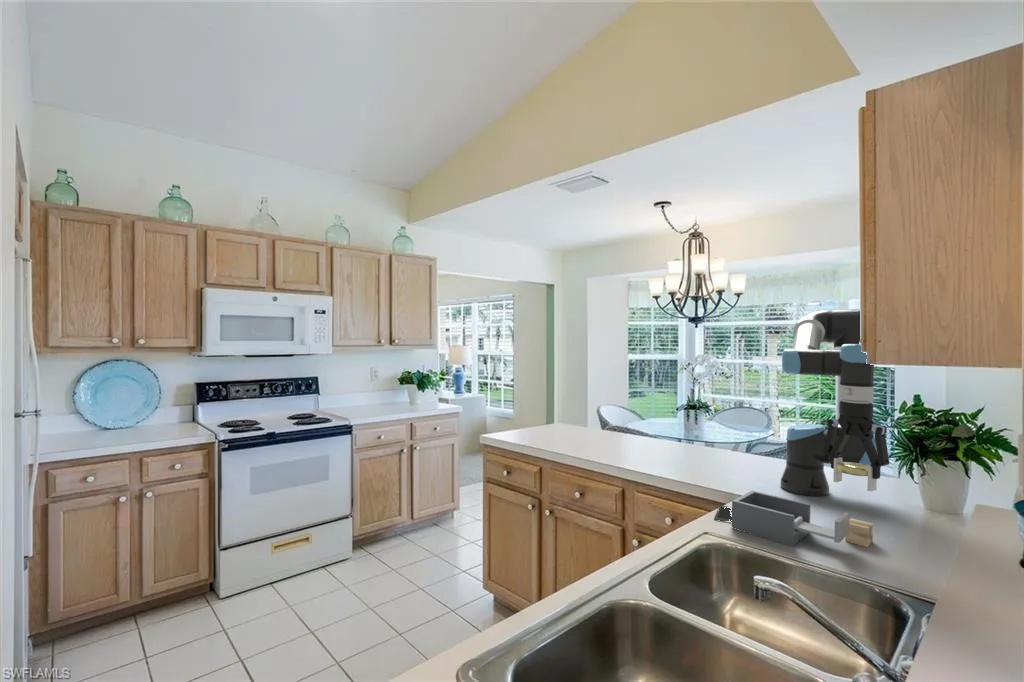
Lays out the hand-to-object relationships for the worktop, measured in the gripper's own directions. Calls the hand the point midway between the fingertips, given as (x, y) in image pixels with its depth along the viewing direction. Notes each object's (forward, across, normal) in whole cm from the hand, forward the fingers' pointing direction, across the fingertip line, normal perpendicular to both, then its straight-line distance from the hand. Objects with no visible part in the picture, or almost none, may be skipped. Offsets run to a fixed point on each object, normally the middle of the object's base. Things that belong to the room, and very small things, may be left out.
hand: (854, 485), depth 134 cm
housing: (+15, -15, -13) cm, 25 cm away
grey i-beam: (+12, -5, -10) cm, 16 cm away
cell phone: (+16, -29, -13) cm, 35 cm away
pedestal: (+15, 0, +2) cm, 16 cm away
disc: (-4, 0, 0) cm, 4 cm away
